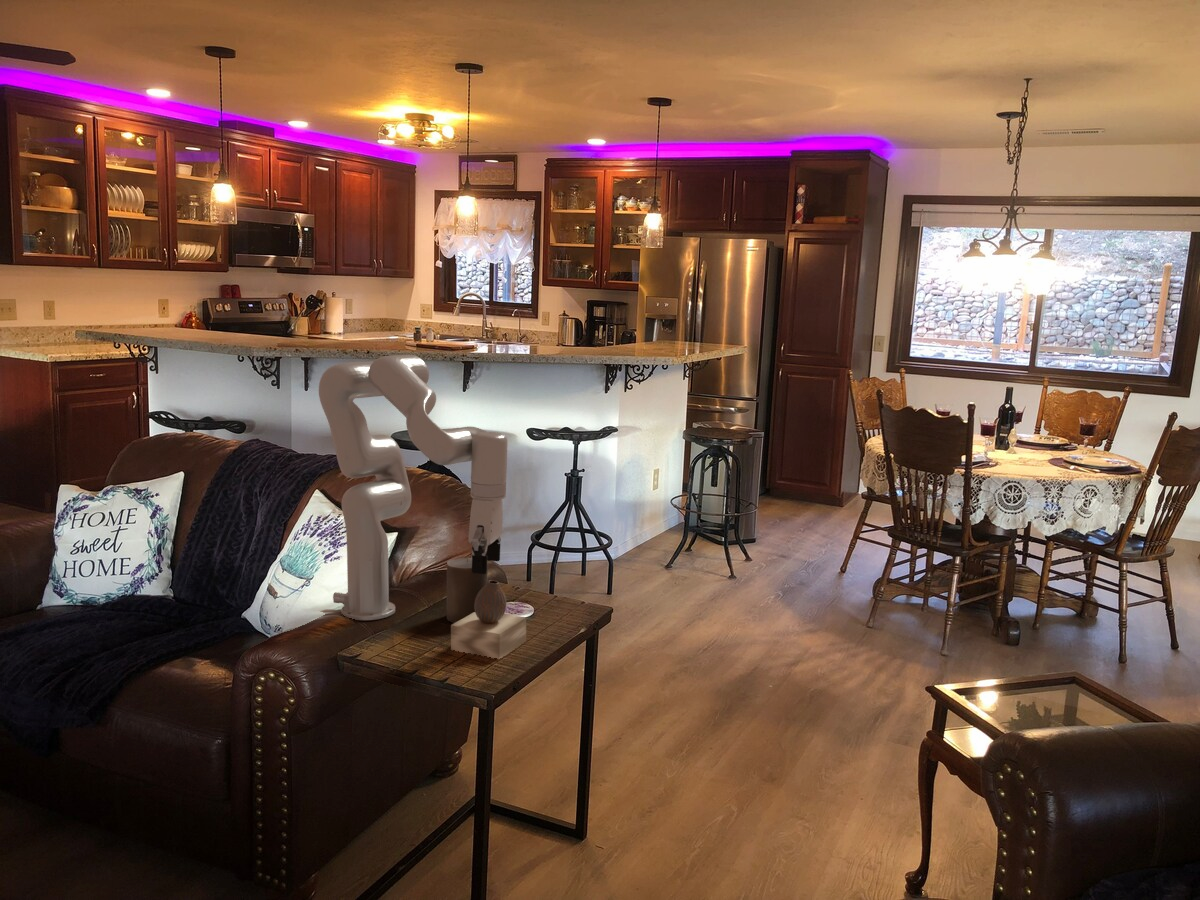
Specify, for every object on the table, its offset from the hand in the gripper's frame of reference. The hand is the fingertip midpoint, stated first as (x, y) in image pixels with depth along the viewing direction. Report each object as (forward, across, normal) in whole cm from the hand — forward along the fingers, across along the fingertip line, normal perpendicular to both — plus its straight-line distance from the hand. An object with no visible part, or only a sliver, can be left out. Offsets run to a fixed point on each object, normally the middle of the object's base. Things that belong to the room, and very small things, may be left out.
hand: (486, 566), depth 207 cm
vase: (+12, +1, +1) cm, 12 cm away
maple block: (+18, 0, +1) cm, 18 cm away
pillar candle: (+18, -16, -9) cm, 26 cm away
